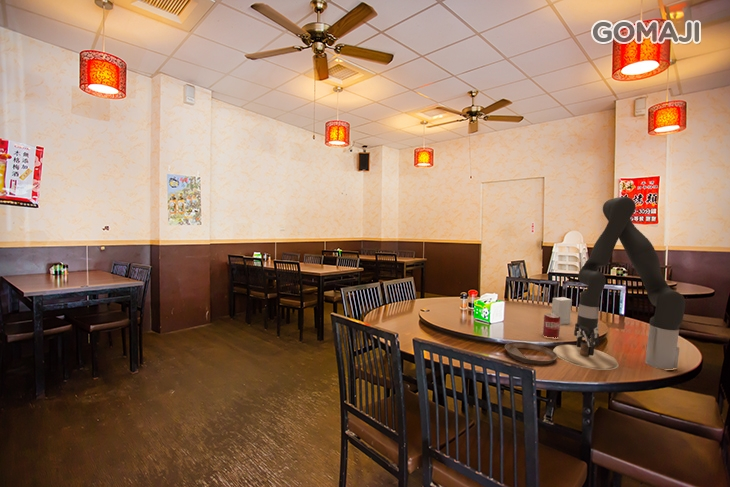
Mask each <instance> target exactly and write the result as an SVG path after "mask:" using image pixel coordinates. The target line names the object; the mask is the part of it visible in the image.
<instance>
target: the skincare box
mask: <svg viewBox="0 0 730 487" xmlns="http://www.w3.org/2000/svg"><path fill="white" fill-rule="evenodd" d="M572 302H573V299H571V298H567V297H565V296H561V297H552V302H551V303H552V305H551V314H556V315H559V316H560V318H561V319H560V326H561V325H562V326H563V325H570V324H571V314H572V312H571V311H572V304H573V303H572Z"/></svg>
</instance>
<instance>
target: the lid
mask: <svg viewBox="0 0 730 487" xmlns="http://www.w3.org/2000/svg"><path fill="white" fill-rule="evenodd" d="M576 345H577V344H576ZM576 345H575V344H560V345H556V346H555V347H554V348H555V353H556V355H557V356H559V357H560V358H562V359H564V360H566V361H565V362H567V361H568V362H567V363H569V362H571V363H570V364H572V363H573V364H572V365H575V364H576V365H575V366H578V365H580V366H579V367H582V366H584V367H583V368H586V367H589V368H588V369H591V368H595V369H594V370H598V369H611V370H613V369H612V368H615V367H616V366H617V362H618V360H617V359H616V358H615V357H613V356H612V355H610V354H608V353H606V352H604V351H601V350H598V349H595V348H594V355H593V356H591V355H588V354H587V350H588V343H587V342H583V343H581V348H579V347H577V346H576ZM559 357H558V358H559ZM560 358H559V359H560ZM562 359H561V360H562ZM564 360H563V361H564ZM615 369H616V368H615Z"/></svg>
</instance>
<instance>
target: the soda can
mask: <svg viewBox="0 0 730 487" xmlns="http://www.w3.org/2000/svg"><path fill="white" fill-rule="evenodd" d="M560 319H561V318H560V316H559V315H556V314H552V312H551V313H549V312H547V313H545V314H544V315H543V325H542V326H543V327H542V336H543V335H544V336H547V337H554V338H555V337H556V338H557V337H559V338H560V329H561V325H560Z"/></svg>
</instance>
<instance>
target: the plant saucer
mask: <svg viewBox="0 0 730 487" xmlns="http://www.w3.org/2000/svg"><path fill="white" fill-rule="evenodd" d="M504 348H505V351H506V352H507V354H508V355H509V356H510V357H511V358H513V359H514V360H517V361H519V362H521V363H523V364H529V365H542V366H544V365H548V364H551V363H553V362H555V361H556V360H557V355H556V353H555V352H553V350H552V349H550V348H548V347H546V346H543V345H540V344H536V343H532V342H526V341H525V342H524V341H512V342H507V343H506V344H504ZM520 348H522V349H529V350H535V351H538V352H541V353H543V354H545V355H547V356H548V357H550V359H547V360H543V359H542V360H539V359H531V358H527V357H526V355H524V353H522V351H521V349H520Z"/></svg>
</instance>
